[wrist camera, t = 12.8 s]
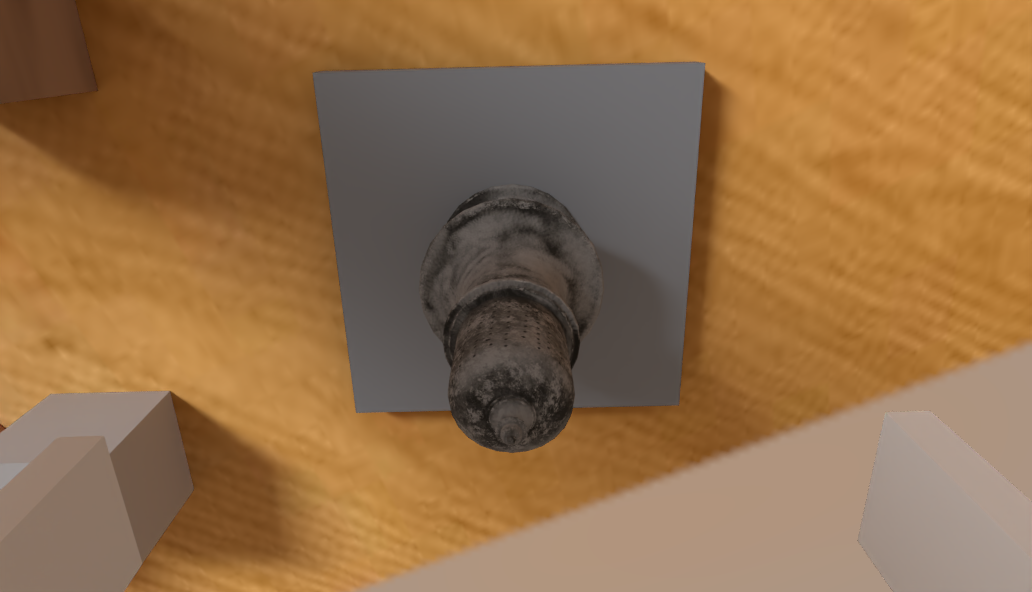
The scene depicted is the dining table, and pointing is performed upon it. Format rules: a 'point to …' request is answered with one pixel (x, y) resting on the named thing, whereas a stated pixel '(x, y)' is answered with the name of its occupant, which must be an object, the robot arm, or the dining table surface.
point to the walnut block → (42, 50)
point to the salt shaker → (511, 313)
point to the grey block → (114, 450)
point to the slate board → (523, 161)
